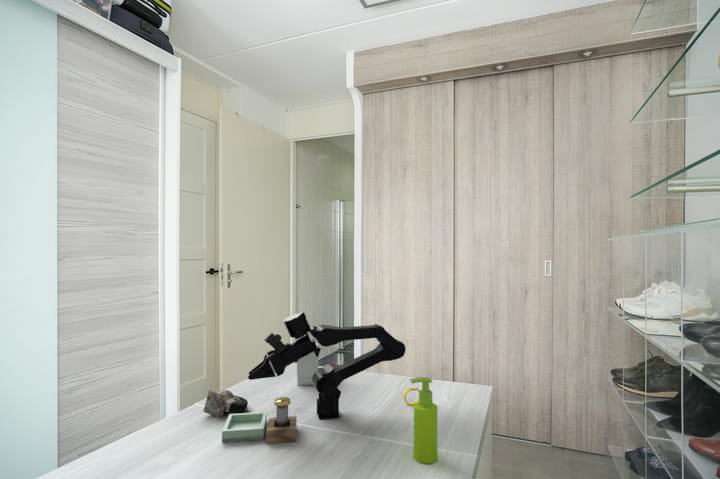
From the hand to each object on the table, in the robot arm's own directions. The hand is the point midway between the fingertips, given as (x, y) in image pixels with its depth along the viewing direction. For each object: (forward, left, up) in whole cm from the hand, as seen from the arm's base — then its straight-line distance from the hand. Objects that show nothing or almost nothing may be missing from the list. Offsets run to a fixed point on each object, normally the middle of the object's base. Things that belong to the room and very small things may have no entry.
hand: (248, 376), depth 115 cm
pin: (-10, +7, -15) cm, 19 cm away
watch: (-53, -9, -15) cm, 56 cm away
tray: (0, +3, -15) cm, 15 cm away
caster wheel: (+8, -12, -15) cm, 21 cm away
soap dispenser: (-46, +24, -15) cm, 54 cm away
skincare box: (-18, -35, -15) cm, 42 cm away
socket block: (-10, +7, -15) cm, 19 cm away
